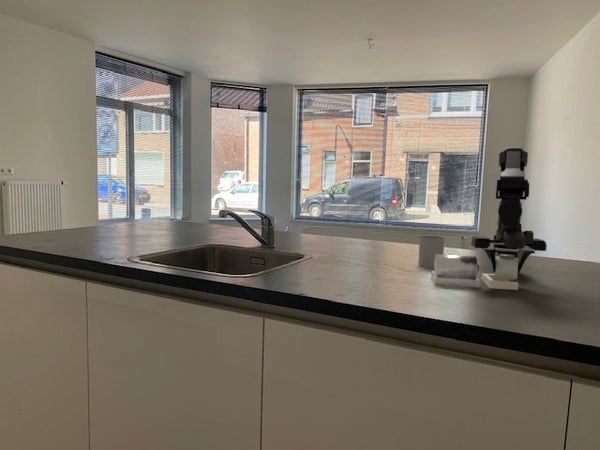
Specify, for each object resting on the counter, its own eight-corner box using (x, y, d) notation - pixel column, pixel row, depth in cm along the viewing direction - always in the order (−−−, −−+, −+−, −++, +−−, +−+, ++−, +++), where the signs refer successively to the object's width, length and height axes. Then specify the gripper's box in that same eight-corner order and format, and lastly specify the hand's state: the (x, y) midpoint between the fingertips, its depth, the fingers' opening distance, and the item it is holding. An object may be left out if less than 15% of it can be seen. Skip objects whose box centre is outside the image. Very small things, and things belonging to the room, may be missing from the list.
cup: (442, 263, 152) (444, 236, 151) (442, 267, 145) (444, 239, 144) (419, 261, 155) (420, 235, 154) (417, 265, 147) (418, 237, 146)
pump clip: (490, 288, 117) (490, 281, 117) (481, 279, 127) (482, 273, 127) (517, 289, 116) (518, 282, 115) (507, 281, 126) (507, 274, 125)
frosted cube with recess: (497, 278, 118) (498, 256, 118) (491, 274, 124) (493, 253, 124) (520, 280, 117) (521, 257, 117) (513, 275, 123) (515, 254, 122)
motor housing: (435, 284, 120) (436, 257, 119) (431, 277, 130) (432, 251, 129) (481, 287, 118) (483, 259, 117) (473, 279, 127) (475, 253, 126)
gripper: (480, 220, 113) (477, 277, 115) (556, 223, 109) (551, 281, 111) (472, 217, 124) (469, 268, 126) (541, 219, 120) (537, 272, 122)
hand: (505, 272), depth 121 cm, fingers closed on frosted cube with recess, 6 cm apart
